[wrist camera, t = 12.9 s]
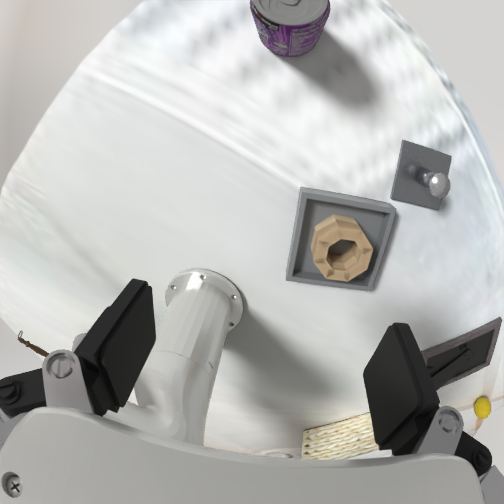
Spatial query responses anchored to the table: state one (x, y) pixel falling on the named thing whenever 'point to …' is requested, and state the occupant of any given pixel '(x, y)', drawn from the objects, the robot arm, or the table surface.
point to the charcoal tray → (370, 221)
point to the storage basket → (342, 441)
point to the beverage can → (290, 24)
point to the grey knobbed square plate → (421, 175)
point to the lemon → (482, 407)
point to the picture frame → (462, 354)
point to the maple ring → (348, 261)
